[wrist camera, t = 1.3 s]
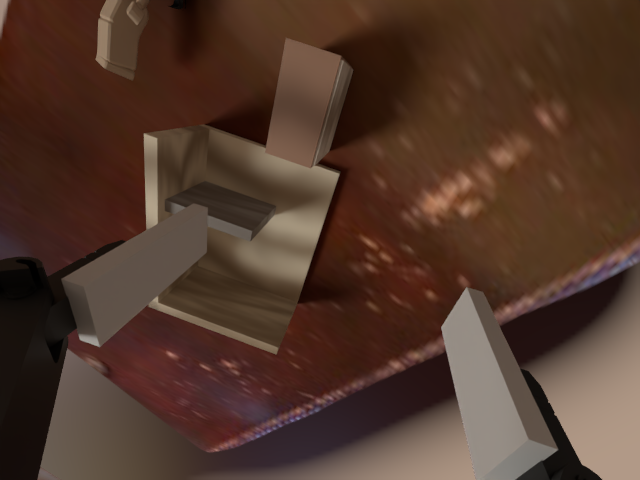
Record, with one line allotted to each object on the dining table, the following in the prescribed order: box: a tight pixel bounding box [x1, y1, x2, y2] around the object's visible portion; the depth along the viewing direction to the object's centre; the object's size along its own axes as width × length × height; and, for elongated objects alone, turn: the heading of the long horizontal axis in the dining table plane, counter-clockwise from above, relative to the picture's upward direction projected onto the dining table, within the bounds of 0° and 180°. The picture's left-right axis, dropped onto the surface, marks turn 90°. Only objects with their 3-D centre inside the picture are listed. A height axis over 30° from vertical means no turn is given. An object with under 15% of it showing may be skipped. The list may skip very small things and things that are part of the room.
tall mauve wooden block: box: [265, 38, 353, 169], centre depth 24 cm, size 8×4×8 cm, turn 164°
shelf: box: [144, 125, 341, 354], centre depth 32 cm, size 20×16×9 cm
